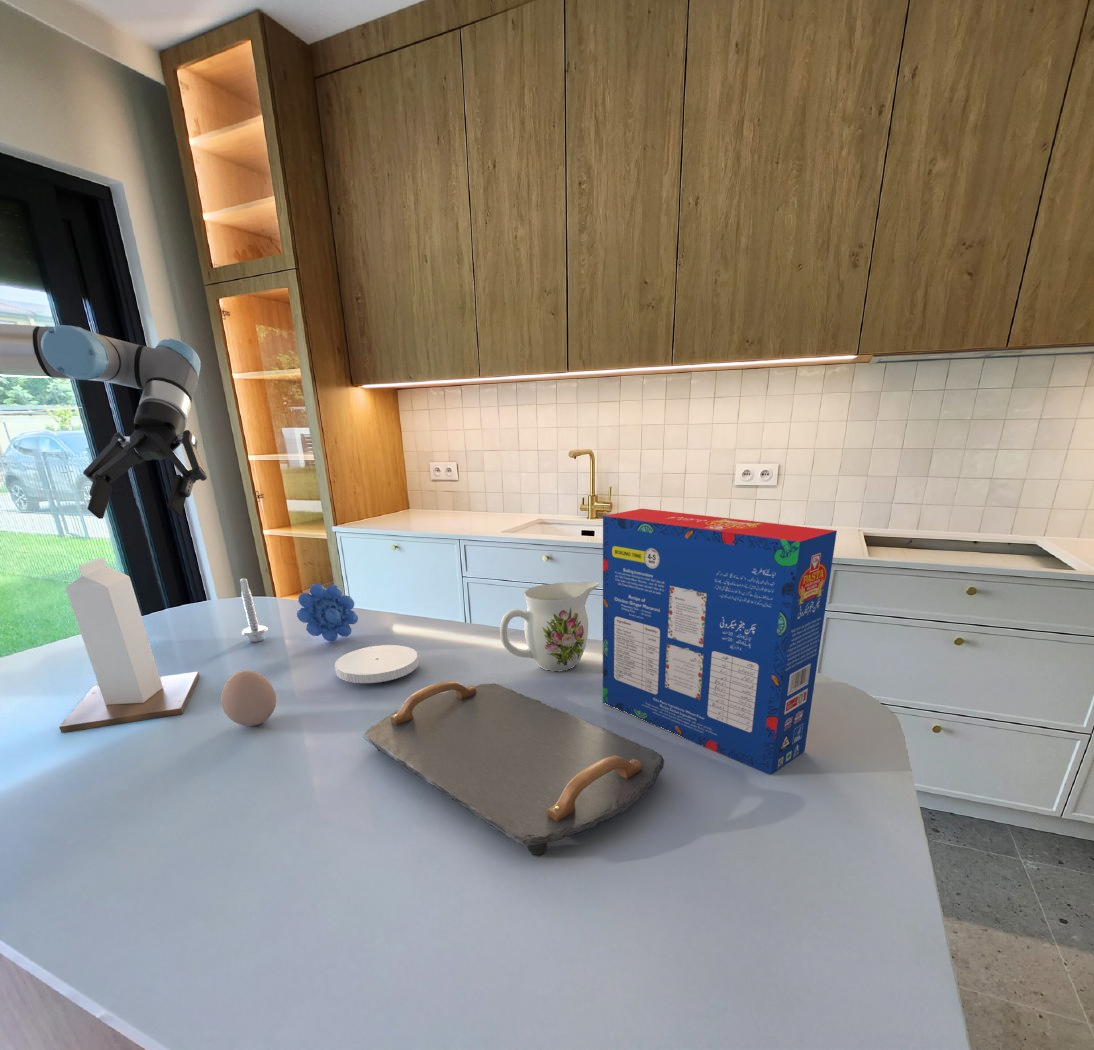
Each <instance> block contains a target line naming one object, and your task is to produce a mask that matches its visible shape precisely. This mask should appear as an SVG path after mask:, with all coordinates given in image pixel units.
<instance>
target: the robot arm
mask: <svg viewBox="0 0 1094 1050" xmlns="http://www.w3.org/2000/svg"><path fill="white" fill-rule="evenodd" d="M201 366H202V363H201V359H200V357H199V355H198V353H197V352H196V351H195V349H193V348H192V347H191V346H190V345H188V344H187V343H186V342H184V341H182V340H179V339H175V338H167V339H166V338H165V339H161V340H160V341H159V342H158V343H157V345H156V346H155V347H152V346H146V345H140V344H137V343H132V342H128V341H125V340H121V339H118V338H114V337H109V336H108V335H107V336H106V335H103V334H99V333H96V332H93V331H91V330H87V329H84V328H82V327H80V326H77V325H69V324H68V325H67V324H60V325H54V326H40V325H29V324H15V323H13V324H12V323H0V377H21V378H22V377H23V378H47V379H59V380H79V381H81V380H82V381H95V382H102V383H109V384H115V385H120V386H124V387H130V388H134V389H140V390H141V391H142V390H143V391H142V394H141V396H140V398H139V399H140V400H139V403H138V407H137V409H136V412H135V415H134V419H133V427H134V431H133V432H132V434H131V435H130V436H127V435H126V436H125V435H123V434H122V433H121V432H120V431H119V432H118V431H117V432H114V434H113V435H112V438H111V440H110V442H109V443H108V444H107V445H106V447H104V448H103V449H102V451H100V453H99V454H98V455H97V456H96V457H95V458H94V459H93V460H92V462H90V463H89V465H88V466H87V467H86V468H85V469H84V470H83V472H82V474H83V475H84V476H85V477H86V478H87V479H88V480H89V481H90V482H91V486H90V488H89V489H90V490H89V493H88V494H89V496H90V499H89V502H88V505H87V508H86V509H87V510H88V512H90V513H91V514H92V515H93V516H95V517H96V518H97V519H98V520H99V519H101V520H102V519H104V517H105V513H106V510H107V507H108V504H109V501H110V497H111V495H112V491H113V487H112V485H110V484H112V483H113V482H115V481H116V480H117V479H119V478H120V477H121V476H122V475H124V474H125V473H126V472H128V471H129V470H130V469H132V468H133V467H134V466H135V465H141V464H142V463H144V462H145V461H152V460H157V461H162V460H163V461H164V459H166V458H168V459H169V460H170V461H171V463H172V464H173V465H174V467H176V469H177V470H178V472H179V473H180V474H175V475H174V479H173V482H172V483H173V484H172V487H171V491H170V495H169V499H168V503H167V508H168V509H169V510H170V511H171V512H172V514H174V515H175V516H176V517H182V515H183V511H184V508H185V503H186V499H187V498H190V496H191V494H192V491H193V486H194V484H195V483H196V482H197V481H199V480H200V481H202V482H204V481H206V480H207V478H208V476H207V473H206V470H205V468H204V465H203V462H202V459H201V457H200V454H199V452H198V440H197V438H196V437H195V435H194V434H193V433H192V432H191V431H190V430H189V429H186V427H187V426H186V424H187V422H188V418H189V414H190V411H191V407H192V402H193V399H194V396H195V392H196V390H197V386H198V383H199V381H200V378H199V376H200V372H201ZM181 444H182V446H183V448H184V451H185V454H186V457H187V459H188V462H189V464H190V467H191V469H188V468H187V467H186V465H185V464H184V463H183V461H181V459H180V458H179V457H178V455H177V454H176V453H175V452H174V451H176V450H177V449H178V448H179V447H180V446H181ZM133 450H135V452H136V453H137V454H138V455H136V454H135V453H134V452H133Z"/></svg>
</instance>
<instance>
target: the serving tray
mask: <svg viewBox="0 0 1094 1050" xmlns="http://www.w3.org/2000/svg"><path fill="white" fill-rule="evenodd" d="M362 738H363V739H364V740H365V741H367V742H368V743H369V744H370V745H372V746H374V748H375V749H376V750H377V749H379V750H380V752H382V753H383V754H384V755H387V756H388V757H390V758H391V759H392V760H394V761H395V762H396V763H397V764H399V765H401V766H403V767H405V768H406V769H407V770H409V771H410V772H412V773H413V774H414V775H415V776H417V777H419V778H421V779H423V780H424V781H425V782H427V783H428V785H431V786H432V787H435V788H436V789H437V790H438V791H439V792H441V793H443V794H445V795H446V796H447V797H449V798H450V799H451V800H452V801H455V802H456V803H458V804H459V805H461V807H464V808H465V809H467V810H469V811H470V812H472V813H473V814H474V815H475V816H477V817H478V818H480V819H481V820H483V821H484V822H486V823H488V824H489V825H491V826H492V827H493V828H495V829H497V830H498V831H500V832H501V833H503V834H504V835H505V836H507V837H508V838H509V839H511V840H513V841H515V842H516V843H518V844H520V845H522V846H526V848H527V851H528V852H529V853H530V854H531V855H532V856H533V857H541V856H543V855H544V853H546V851H547V848H548V845H549V844H548V843H550V842H555V841H559V840H562V839H564V838H566V837H569V836H574V835H576V834H579V833H582V832H584V831H587V830H591V829H593V828H595V826H596V825H597V826H598V825H599V824H601V823H604V822H605V821H607V820H609V819H611V818H614V817H616V816H618V815H620V814H621V813H623V812H625V811H626V810H628V809H629V808H630V807H632V805H634V804H635V803H636V802H637V801H639V800H640V799H641V797H642V796H643V795H644V794H645V793H647V792H648V791H649V790H650V789H651V788H653V786H654V784H655V783H656V781H657V779H658V777H660V774H661V771H662V770H663V769H664V765H665V759H664V757H663V756H662V755H661V753H659V752H657V751H655V750H654V749H652V748H649V747H646V746H645V745H641V744H640V743H638V742H635V741H633V740H630V739H627V738H625V737H623V736H621V735H620V734H619V735H618V734H617V733H615V732H613V731H610V730H608V729H606V728H603V727H599V726H596V725H594V724H591V723H589V722H587V721H585V720H583V719H582V718H580V717H578V716H576V715H573V714H571V713H569V712H567V711H563V710H560V709H558V708H556V707H553V706H551V705H548V704H547V703H544V702H542V701H541V700H539V699H536V698H532V697H530V696H527V695H524V694H522V693H518V692H517V691H515V690H513V689H511V688H508V687H506V686H504V685H501V684H498V683H481V684H478V685H468V686H465V685H463V684H462V683H459V682H457V681H454V680H445V681H439V682H437V683H434V684H431V685H428V686H426V687H423V688H421V689H419V690H417V691H416V692H414V693H413V694H411V695H409V696H408V698H407V699H406V700H405V701H404V702H403V704H402V706H401V707H400V708H399V709H397V710H395V711H394V712H392V713H391V714H389V715H387V716H385V717H384V718H382V719H381V720H380V721H378V722H376V724H374V725H371V726H370V727H369V728H368V729H366V731H365V732H364V733H363V735H362ZM379 750H378V751H379Z"/></svg>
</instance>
